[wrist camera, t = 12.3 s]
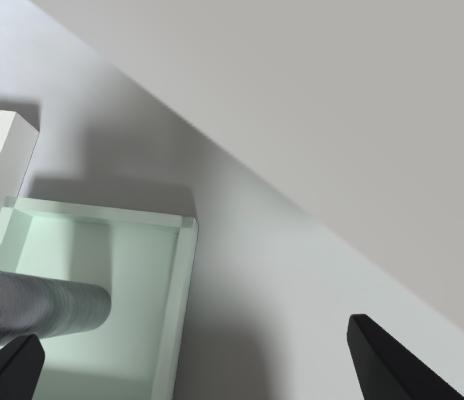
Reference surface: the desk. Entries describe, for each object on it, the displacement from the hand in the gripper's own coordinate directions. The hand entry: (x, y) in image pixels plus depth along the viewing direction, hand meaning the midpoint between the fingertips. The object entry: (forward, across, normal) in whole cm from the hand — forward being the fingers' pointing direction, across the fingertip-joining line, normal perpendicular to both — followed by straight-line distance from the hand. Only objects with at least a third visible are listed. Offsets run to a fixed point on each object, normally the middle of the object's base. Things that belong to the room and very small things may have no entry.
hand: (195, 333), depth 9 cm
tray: (+10, +9, +9) cm, 16 cm away
